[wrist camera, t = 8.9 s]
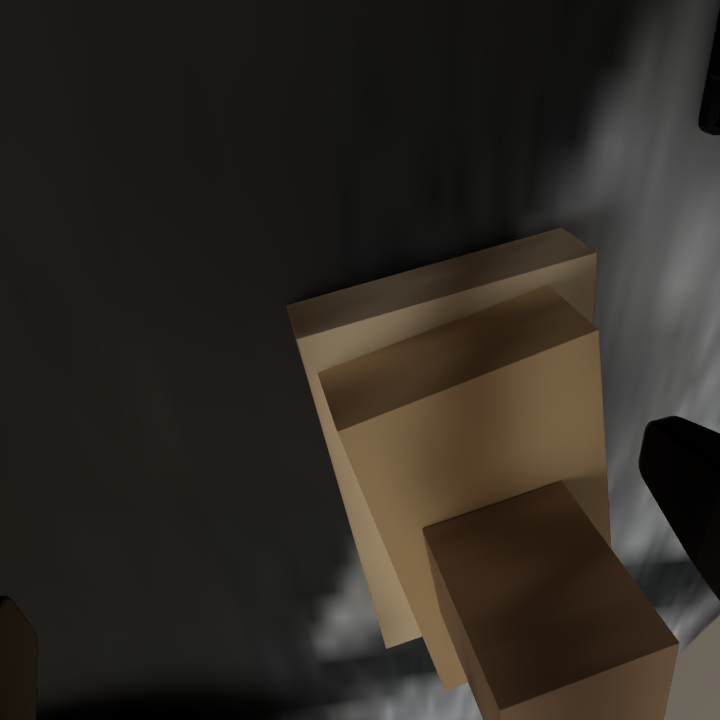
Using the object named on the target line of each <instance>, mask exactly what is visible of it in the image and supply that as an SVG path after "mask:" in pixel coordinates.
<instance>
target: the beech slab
mask: <svg viewBox="0 0 720 720" xmlns="http://www.w3.org/2000/svg"><path fill="white" fill-rule="evenodd" d="M596 266H597V252H596V251H595V250H593V249H592V248H590V247H589V246H588V245H586V244H585V243H583V242H582V241H581V240H579V239H578V238H577V237H575V236H574V235H572V234H571V233H570V232H568V231H567V230H565V229H564V228H563V227H561V228H558V229H554V230H551V231H547V232H544V233H540V234H537V235H533V236H530V237H526V238H523V239H519V240H516V241H512V242H509V243H505V244H502V245H498V246H494V247H491V248H487V249H484V250H480V251H477V252H473V253H470V254H466V255H463V256H459V257H456V258H452V259H449V260H445V261H442V262H438V263H435V264H431V265H428V266H424V267H420V268H417V269H413V270H410V271H406V272H403V273H399V274H396V275H392V276H389V277H385V278H382V279H378V280H375V281H371V282H368V283H364V284H361V285H357V286H353V287H350V288H346V289H343V290H339V291H336V292H332V293H329V294H325V295H322V296H318V297H315V298H311V299H308V300H304V301H301V302H297V303H294V304H290V305H287V310H288V313H289V317H290V320H291V324H292V327H293V331H294V334H295V337H296V341H297V344H298V348H299V351H300V355H301V358H302V361H303V365H304V368H305V372H306V375H307V379H308V382H309V386H310V389H311V392H312V396H313V399H314V403H315V406H316V410H317V413H318V416H319V420H320V423H321V427H322V430H323V434H324V437H325V440H326V444H327V447H328V451H329V454H330V458H331V461H332V465H333V468H334V471H335V475H336V478H337V482H338V485H339V489H340V492H341V495H342V499H343V502H344V506H345V509H346V513H347V516H348V520H349V523H350V526H351V530H352V533H353V537H354V540H355V544H356V547H357V550H358V554H359V557H360V561H361V564H362V568H363V571H364V574H365V578H366V581H367V585H368V588H369V592H370V595H371V599H372V602H373V605H374V609H375V612H376V615H377V619H378V622H379V625H380V629H381V632H382V635H383V639H384V642H385V645H386V649H387V648H390V647H393V646H395V645H398V644H401V643H404V642H407V641H410V640H413V639H416V638H419V637H422V634H421V631H420V629H419V627H418V624H417V622H416V620H415V617H414V615H413V612H412V610H411V608H410V605H409V603H408V600H407V598H406V596H405V593H404V591H403V588H402V586H401V584H400V581H399V579H398V576H397V574H396V572H395V569H394V567H393V564H392V562H391V560H390V557H389V555H388V553H387V550H386V548H385V545H384V543H383V541H382V538H381V536H380V533H379V531H378V529H377V526H376V524H375V521H374V519H373V517H372V514H371V512H370V509H369V507H368V505H367V502H366V500H365V498H364V495H363V493H362V490H361V488H360V486H359V483H358V481H357V478H356V476H355V474H354V471H353V469H352V466H351V464H350V462H349V459H348V457H347V454H346V452H345V450H344V447H343V445H342V442H341V440H340V438H339V435H338V433H337V430H336V427H335V424H334V421H333V418H332V415H331V412H330V409H329V407H328V404H327V401H326V398H325V395H324V392H323V389H322V386H321V383H320V380H319V377H318V374H317V373H319V372H322V371H324V370H327V369H330V368H332V367H335V366H337V365H340V364H343V363H345V362H348V361H350V360H353V359H356V358H358V357H361V356H363V355H366V354H369V353H371V352H374V351H376V350H379V349H382V348H384V347H387V346H389V345H392V344H395V343H397V342H400V341H402V340H405V339H408V338H410V337H413V336H415V335H418V334H421V333H423V332H426V331H428V330H431V329H434V328H436V327H439V326H441V325H444V324H447V323H449V322H452V321H454V320H457V319H460V318H462V317H465V316H467V315H470V314H473V313H475V312H478V311H480V310H483V309H486V308H488V307H491V306H493V305H496V304H499V303H501V302H504V301H506V300H509V299H512V298H514V297H517V296H520V295H522V294H525V293H527V292H530V291H533V290H535V289H538V288H540V287H543V286H546V285H549V286H550V287H551V288H552V289H553V290H555V291H556V292H557V293H558V294H559V295H560V296H561V297H562V298H564V299H565V300H566V301H567V302H568V303H569V304H570V305H571V306H573V307H574V308H575V309H576V310H577V311H578V312H579V313H580V314H582V315H583V316H584V317H585V318H586V319H587V320H588V321H589V322H591V323H592V324H593V325H594V305H595V286H596Z"/></svg>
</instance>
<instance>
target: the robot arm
mask: <svg viewBox="0 0 720 720" xmlns="http://www.w3.org/2000/svg"><path fill="white" fill-rule="evenodd" d="M718 113H719V117H718V119H717V120H716V122H715V123H714V119H715V116H716V115H717V114H718ZM699 127H700V130H702V131H703V132H705V133H708V134H711V135H720V11H719V17H718V22H717V27H716V32H715V37H714V42H713V48H712V53H711V58H710V63H709V68H708V73H707V79H706V84H705V89H704V94H703V99H702V104H701V110H700V115H699ZM639 470H640V473H641V476H642V478H643V480H644V481H645V483H646V485H647V486H648V488H649V490H650V492H651V493H652V495H653V497H654V498H655V500H656V502H657V503H658V505H659V507H660V509H661V510H662V512H663V514H664V515H665V517H666V519H667V521H668V522H669V524H670V526H671V527H672V529H673V531H674V532H675V534H676V536H677V538H678V539H679V541H680V543H681V544H682V546H683V548H684V549H685V551H686V553H687V554H688V556H689V558H690V559H691V561H692V562H693V564H694V566H695V567H696V568H697V570H698V571H699V573H700V574H701V576H702V577H703V578H704V580H705V581H706V583H707V584H708V585H709V587H710V588H711V590H712V591H713V592H714V594H715V595H716V596H717V598H718V599H719V600H720V433H718V432H715V431H713V430H710V429H708V428H706V427H703V426H701V425H698V424H696V423H693V422H691V421H689V420H686V419H684V418H681V417H678V416H669V417H665V418H661V419H658V420H654V421H651V422H649V423H648V424H647V426H646V427H645V431H644V436H643V441H642V446H641V451H640V456H639ZM37 669H38V641H37V636H36V633H35V631H34V629H33V627H32V626H31V625H30V623H29V622H28V620H27V619H26V618H25V616H24V615H23V614H22V612H21V611H20V610H19V608H18V607H17V606H16V604H15V603H14V601H13V600H12V599H11V598H9V597H7V596H5V595H4V596H0V720H36V703H37Z"/></svg>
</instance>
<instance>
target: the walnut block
mask: <svg viewBox="0 0 720 720" xmlns="http://www.w3.org/2000/svg"><path fill="white" fill-rule="evenodd" d="M422 532H423V536H424V541H425V545H426V550H427V555H428V559H429V564H430V568H431V573H432V577H433V582H434V586H435V591H436V596H437V600H438V605H439V609H440V613H441V616H442V618H443V621H444V623H445V626H446V628H447V631H448V633H449V635H450V638H451V640H452V643H453V645H454V648H455V650H456V653H457V655H458V658H459V660H460V663H461V665H462V668H463V670H464V673H465V675H466V678H467V680H468V683H469V685H470V688H471V690H472V693H473V695H474V698H475V700H476V703H477V705H478V708H479V710H480V713H481V715H482V717H483V720H664V715H665V711H666V706H667V701H668V696H669V691H670V686H671V682H672V676H673V672H674V667H675V661H676V657H677V653H678V648H679V642H678V640H677V639H676V637H675V636H674V635H673V633H672V632H671V631H670V629H669V628H668V627H667V625H666V624H665V622H664V621H663V620H662V618H661V617H660V616H659V614H658V613H657V611H656V610H655V609H654V607H653V606H652V605H651V603H650V602H649V600H648V599H647V598H646V596H645V595H644V594H643V592H642V591H641V589H640V588H639V587H638V585H637V584H636V583H635V581H634V580H633V578H632V577H631V576H630V574H629V573H628V572H627V570H626V569H625V567H624V566H623V565H622V563H621V562H620V561H619V559H618V558H617V556H616V555H615V554H614V552H613V551H612V550H611V548H610V547H609V545H608V544H607V543H606V541H605V540H604V539H603V537H602V536H601V534H600V533H599V532H598V530H597V529H596V528H595V526H594V525H593V523H592V522H591V521H590V519H589V518H588V517H587V515H586V514H585V512H584V511H583V510H582V508H581V507H580V506H579V504H578V503H577V501H576V500H575V499H574V497H573V496H572V495H571V493H570V492H569V490H568V489H567V488H566V486H565V485H564V484H563V482H562V481H561V482H558V483H555V484H552V485H549V486H546V487H543V488H540V489H538V490H535V491H532V492H529V493H526V494H523V495H520V496H517V497H514V498H512V499H509V500H506V501H503V502H500V503H497V504H494V505H491V506H488V507H485V508H483V509H480V510H477V511H474V512H471V513H468V514H465V515H462V516H459V517H457V518H454V519H451V520H448V521H445V522H442V523H439V524H436V525H433V526H431V527H428V528H425V529H422Z"/></svg>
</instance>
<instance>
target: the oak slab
mask: <svg viewBox="0 0 720 720" xmlns="http://www.w3.org/2000/svg"><path fill="white" fill-rule="evenodd" d="M317 374H318V377H319V380H320V383H321V386H322V389H323V392H324V395H325V398H326V401H327V404H328V407H329V409H330V412H331V415H332V418H333V421H334V424H335V427H336V430H337V433H338V435H339V438H340V440H341V442H342V445H343V447H344V450H345V452H346V454H347V457H348V459H349V462H350V464H351V466H352V469H353V471H354V474H355V476H356V478H357V481H358V483H359V486H360V488H361V490H362V493H363V495H364V498H365V500H366V502H367V505H368V507H369V509H370V512H371V514H372V517H373V519H374V521H375V524H376V526H377V529H378V531H379V533H380V536H381V538H382V541H383V543H384V545H385V548H386V550H387V553H388V555H389V557H390V560H391V562H392V564H393V567H394V569H395V572H396V574H397V576H398V579H399V581H400V584H401V586H402V588H403V591H404V593H405V596H406V598H407V600H408V603H409V605H410V608H411V610H412V612H413V615H414V617H415V620H416V622H417V624H418V627H419V629H420V631H421V634H422V636H423V639H424V641H425V643H426V646H427V648H428V651H429V653H430V655H431V658H432V660H433V663H434V665H435V667H436V670H437V672H438V675H439V677H440V679H441V682H442V684H443V687H444V689H445V691H448V690H450V689H452V688H455V687H457V686H460V685H462V684H465V683H467V682H468V680H467V678H466V675H465V673H464V670H463V668H462V665H461V663H460V660H459V658H458V655H457V653H456V650H455V648H454V645H453V643H452V640H451V638H450V635H449V633H448V631H447V628H446V626H445V623H444V621H443V618H442V616H441V613H440V609H439V605H438V600H437V596H436V591H435V586H434V582H433V577H432V573H431V568H430V564H429V559H428V555H427V550H426V545H425V541H424V536H423V532H422V529H425V528H428V527H431V526H433V525H436V524H439V523H442V522H445V521H448V520H451V519H454V518H457V517H459V516H462V515H465V514H468V513H471V512H474V511H477V510H480V509H483V508H485V507H488V506H491V505H494V504H497V503H500V502H503V501H506V500H509V499H512V498H514V497H517V496H520V495H523V494H526V493H529V492H532V491H535V490H538V489H540V488H543V487H546V486H549V485H552V484H555V483H558V482H561V481H562V482H563V484H564V485H565V486H566V488H567V489H568V490H569V492H570V493H571V495H572V496H573V497H574V499H575V500H576V501H577V503H578V504H579V506H580V507H581V508H582V510H583V511H584V512H585V514H586V515H587V517H588V518H589V519H590V521H591V522H592V523H593V525H594V526H595V528H596V529H597V530H598V532H599V533H600V534H601V536H602V537H603V539H604V540H605V541H606V543H607V544H608V545H609V547H610V548H611V536H610V518H609V501H608V483H607V466H606V448H605V431H604V413H603V396H602V378H601V361H600V343H599V329H597V328H596V327H595V326H594V325H593V324H592V323H591V322H589V321H588V320H587V319H586V318H585V317H584V316H583V315H582V314H580V313H579V312H578V311H577V310H576V309H575V308H574V307H573V306H571V305H570V304H569V303H568V302H567V301H566V300H565V299H564V298H562V297H561V296H560V295H559V294H558V293H557V292H556V291H555V290H553V289H552V288H551V287H550V286H549V285H546V286H543V287H540V288H538V289H535V290H533V291H530V292H527V293H525V294H522V295H520V296H517V297H514V298H512V299H509V300H506V301H504V302H501V303H499V304H496V305H493V306H491V307H488V308H486V309H483V310H480V311H478V312H475V313H473V314H470V315H467V316H465V317H462V318H460V319H457V320H454V321H452V322H449V323H447V324H444V325H441V326H439V327H436V328H434V329H431V330H428V331H426V332H423V333H421V334H418V335H415V336H413V337H410V338H408V339H405V340H402V341H400V342H397V343H395V344H392V345H389V346H387V347H384V348H382V349H379V350H376V351H374V352H371V353H369V354H366V355H363V356H361V357H358V358H356V359H353V360H350V361H348V362H345V363H343V364H340V365H337V366H335V367H332V368H330V369H327V370H324V371H322V372H319V373H317Z"/></svg>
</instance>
